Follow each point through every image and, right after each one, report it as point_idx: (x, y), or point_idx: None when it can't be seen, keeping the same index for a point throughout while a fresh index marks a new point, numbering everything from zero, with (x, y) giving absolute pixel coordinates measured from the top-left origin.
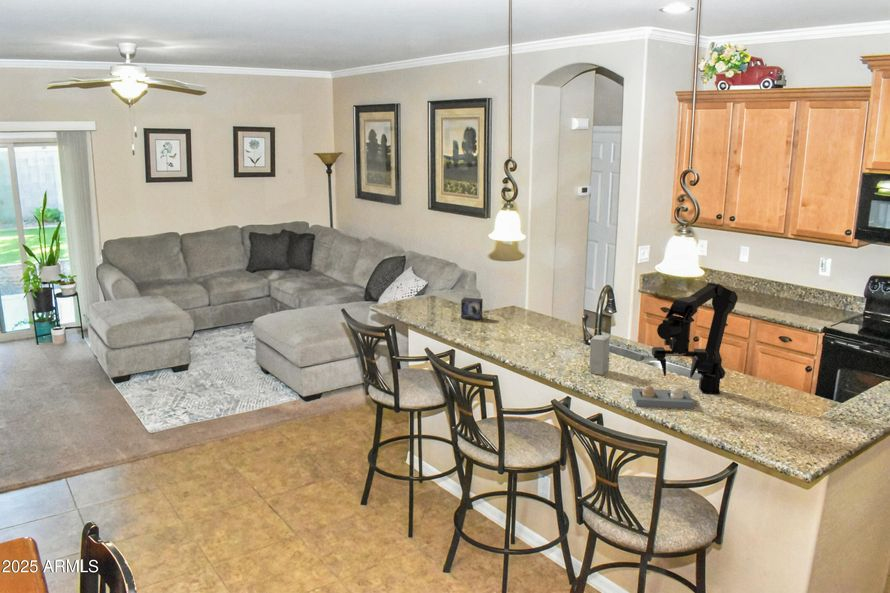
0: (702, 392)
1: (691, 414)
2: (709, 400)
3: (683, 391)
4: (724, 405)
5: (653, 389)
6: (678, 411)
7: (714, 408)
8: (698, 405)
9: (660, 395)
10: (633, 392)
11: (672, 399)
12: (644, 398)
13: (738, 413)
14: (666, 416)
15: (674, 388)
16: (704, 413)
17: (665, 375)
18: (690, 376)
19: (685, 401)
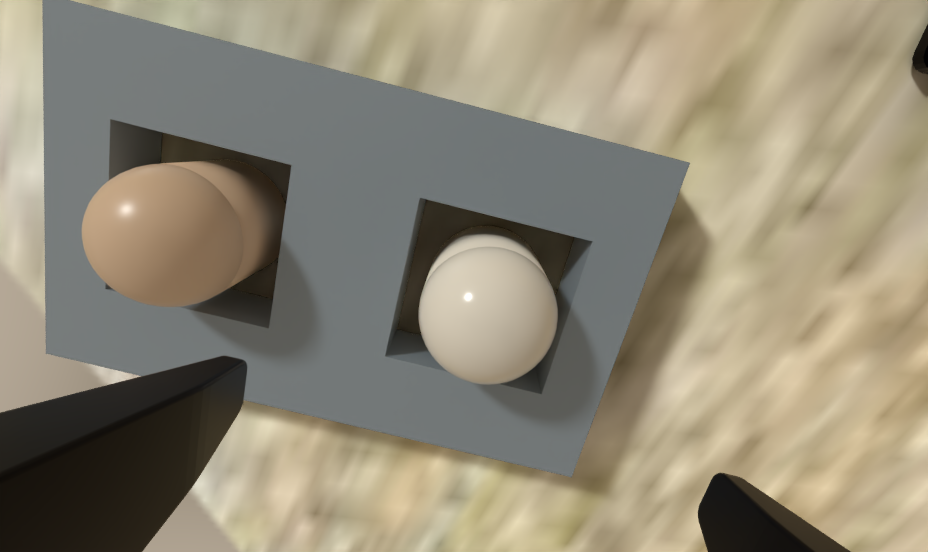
0: (915, 54)
1: (487, 521)
2: (828, 270)
3: (631, 180)
4: (874, 396)
5: (194, 289)
6: (414, 461)
7: (740, 443)
8: (646, 370)
9: (317, 270)
10: (52, 120)
11: (398, 388)
12: (128, 331)
13: (856, 548)
14: (287, 528)
15: (447, 337)
16: (596, 517)
17: (230, 420)
18: (708, 499)
19: (500, 447)
